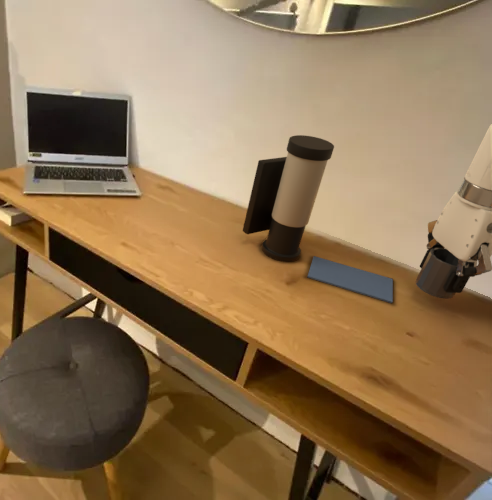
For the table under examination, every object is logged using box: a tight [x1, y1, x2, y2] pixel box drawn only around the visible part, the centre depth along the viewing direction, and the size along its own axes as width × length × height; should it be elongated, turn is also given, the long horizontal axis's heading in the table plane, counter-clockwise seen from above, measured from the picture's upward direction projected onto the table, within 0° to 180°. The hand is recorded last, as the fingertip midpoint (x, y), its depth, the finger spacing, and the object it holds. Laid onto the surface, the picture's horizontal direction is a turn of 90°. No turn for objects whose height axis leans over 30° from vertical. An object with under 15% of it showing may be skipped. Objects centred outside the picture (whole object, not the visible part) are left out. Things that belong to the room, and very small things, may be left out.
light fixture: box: [242, 134, 335, 263], centre depth 98 cm, size 12×11×25 cm
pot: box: [415, 248, 469, 300], centre depth 89 cm, size 7×7×7 cm
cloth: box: [307, 255, 394, 304], centre depth 96 cm, size 16×9×1 cm, turn 65°
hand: (439, 279), depth 89 cm, fingers closed on pot, 6 cm apart
